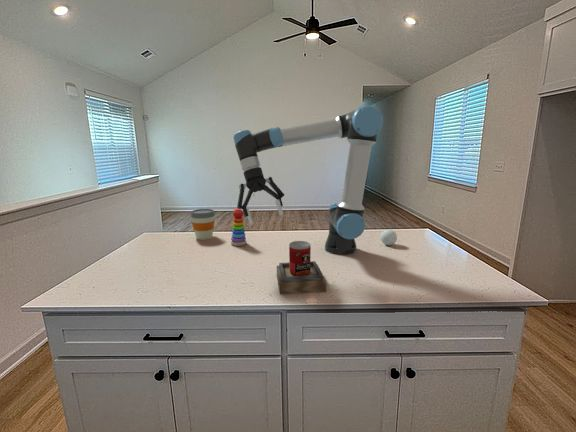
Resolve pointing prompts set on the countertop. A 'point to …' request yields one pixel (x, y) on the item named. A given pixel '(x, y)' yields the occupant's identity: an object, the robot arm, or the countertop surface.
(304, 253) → the canned food
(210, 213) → the reusable coffee cup
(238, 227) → the stacking toy
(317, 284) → the square wooden tray
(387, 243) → the ball
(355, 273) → the countertop surface
